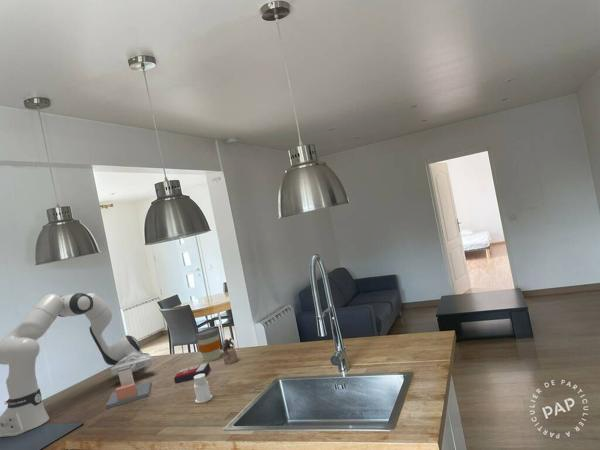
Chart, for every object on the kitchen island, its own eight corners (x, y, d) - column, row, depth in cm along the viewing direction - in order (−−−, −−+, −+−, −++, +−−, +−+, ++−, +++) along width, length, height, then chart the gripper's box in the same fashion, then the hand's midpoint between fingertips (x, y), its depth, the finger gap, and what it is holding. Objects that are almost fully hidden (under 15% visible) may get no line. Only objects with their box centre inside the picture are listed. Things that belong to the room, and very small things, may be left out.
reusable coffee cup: (213, 362, 231) (207, 334, 231) (196, 362, 238) (190, 335, 238) (228, 353, 242) (222, 327, 242) (212, 354, 249) (206, 328, 249)
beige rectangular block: (123, 395, 204) (117, 370, 203) (124, 392, 208) (119, 368, 207) (134, 391, 205) (129, 367, 205) (135, 389, 209) (130, 365, 209)
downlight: (191, 400, 182) (187, 377, 181) (206, 393, 186) (202, 371, 186) (200, 405, 176) (196, 381, 175) (216, 398, 180) (211, 374, 180)
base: (106, 408, 195) (103, 394, 195) (113, 395, 213) (110, 382, 213) (148, 396, 200) (145, 382, 200) (151, 384, 217) (148, 371, 217)
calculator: (179, 369, 221) (208, 361, 221) (181, 377, 221) (210, 369, 221) (173, 376, 210) (203, 368, 210) (175, 385, 210) (205, 377, 210)
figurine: (226, 360, 230) (221, 338, 229) (239, 358, 229) (234, 335, 229) (223, 365, 222) (218, 342, 222) (236, 362, 222) (231, 339, 222)
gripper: (111, 362, 234) (107, 369, 220) (151, 351, 239) (149, 357, 225) (114, 373, 234) (109, 381, 220) (154, 363, 239) (151, 370, 225)
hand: (130, 369), depth 223 cm, fingers closed
